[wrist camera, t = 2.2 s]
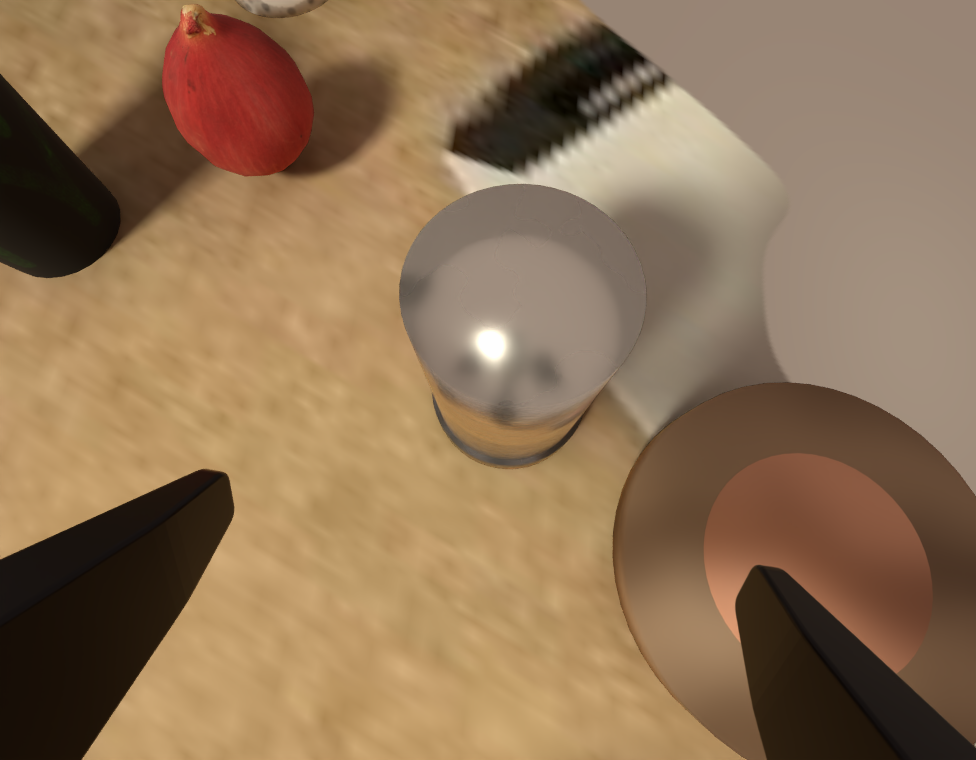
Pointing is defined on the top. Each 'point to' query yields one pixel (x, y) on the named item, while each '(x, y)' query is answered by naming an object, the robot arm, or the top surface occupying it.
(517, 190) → the canister
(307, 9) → the mug
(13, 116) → the cup
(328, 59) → the top surface
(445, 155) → the top surface
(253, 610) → the top surface
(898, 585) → the turntable
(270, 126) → the onion
